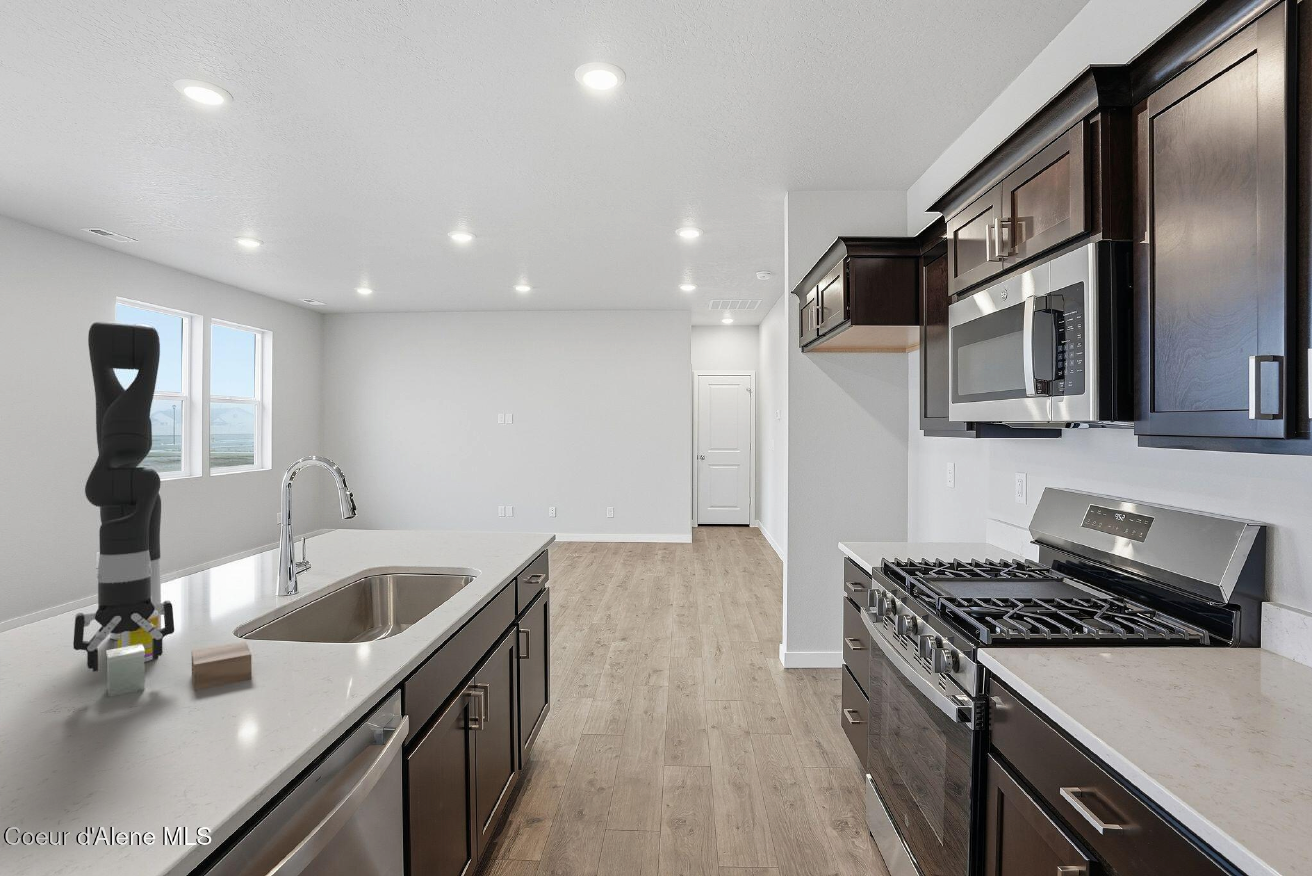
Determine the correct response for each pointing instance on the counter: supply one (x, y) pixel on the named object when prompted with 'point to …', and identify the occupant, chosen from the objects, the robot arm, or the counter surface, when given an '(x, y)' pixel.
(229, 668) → the walnut block
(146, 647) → the supplement bottle
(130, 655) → the tea tin
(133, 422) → the robot arm
